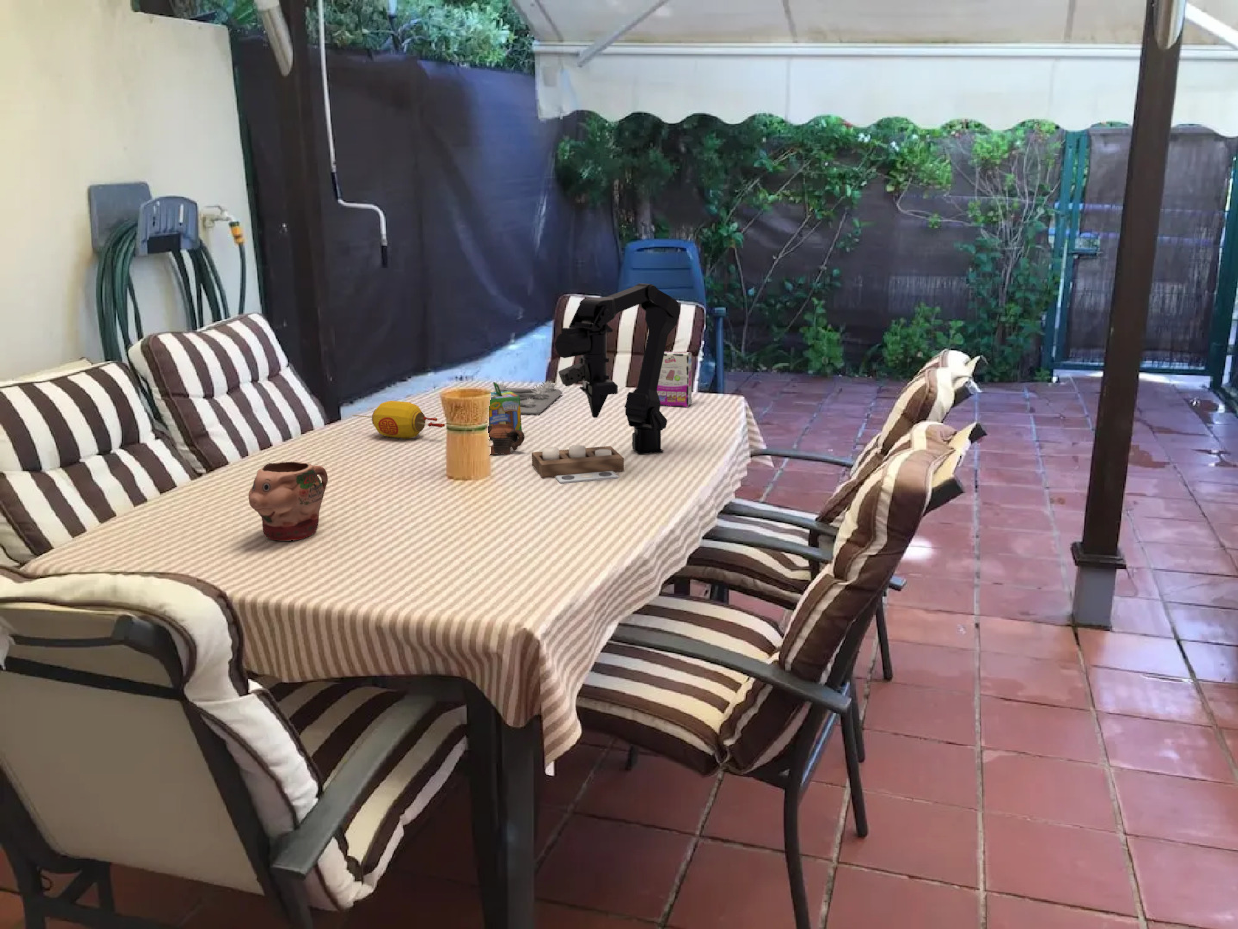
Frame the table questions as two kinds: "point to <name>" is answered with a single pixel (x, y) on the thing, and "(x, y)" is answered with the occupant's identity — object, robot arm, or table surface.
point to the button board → (578, 463)
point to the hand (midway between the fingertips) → (595, 417)
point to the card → (586, 477)
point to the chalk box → (505, 408)
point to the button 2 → (602, 452)
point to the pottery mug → (504, 438)
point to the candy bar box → (676, 380)
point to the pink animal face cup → (288, 499)
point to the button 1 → (550, 453)
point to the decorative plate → (534, 397)
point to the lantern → (400, 419)
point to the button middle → (577, 451)
